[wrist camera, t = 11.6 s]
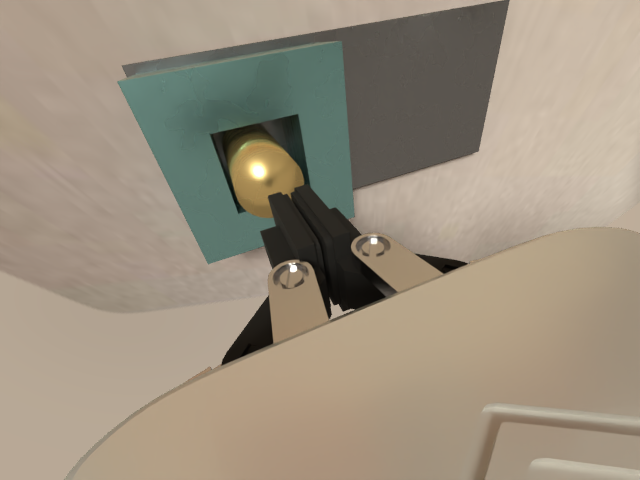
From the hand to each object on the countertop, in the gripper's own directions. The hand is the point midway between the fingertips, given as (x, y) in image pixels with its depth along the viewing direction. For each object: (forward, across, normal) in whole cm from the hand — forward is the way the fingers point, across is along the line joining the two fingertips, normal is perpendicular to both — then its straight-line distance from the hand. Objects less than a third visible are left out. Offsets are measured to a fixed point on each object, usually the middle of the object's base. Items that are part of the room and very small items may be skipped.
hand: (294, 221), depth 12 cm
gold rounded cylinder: (+12, 0, 0) cm, 12 cm away
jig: (+13, -8, 0) cm, 15 cm away
